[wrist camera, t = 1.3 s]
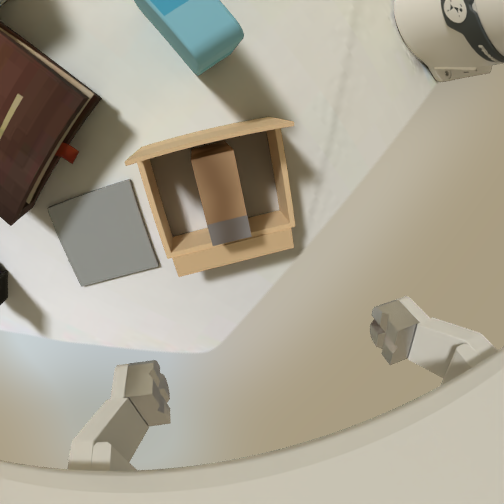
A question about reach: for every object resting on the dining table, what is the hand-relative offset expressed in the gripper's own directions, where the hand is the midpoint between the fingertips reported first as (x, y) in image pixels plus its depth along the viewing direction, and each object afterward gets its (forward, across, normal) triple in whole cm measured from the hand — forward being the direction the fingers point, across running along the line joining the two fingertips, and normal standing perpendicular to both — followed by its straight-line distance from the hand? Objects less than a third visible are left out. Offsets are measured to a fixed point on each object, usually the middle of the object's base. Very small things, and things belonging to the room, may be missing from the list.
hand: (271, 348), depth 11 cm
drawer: (+29, -1, +2) cm, 29 cm away
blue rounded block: (+29, 0, -18) cm, 34 cm away
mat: (+29, +15, +5) cm, 33 cm away
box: (+29, -1, +1) cm, 29 cm away
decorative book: (+30, +25, -17) cm, 42 cm away
